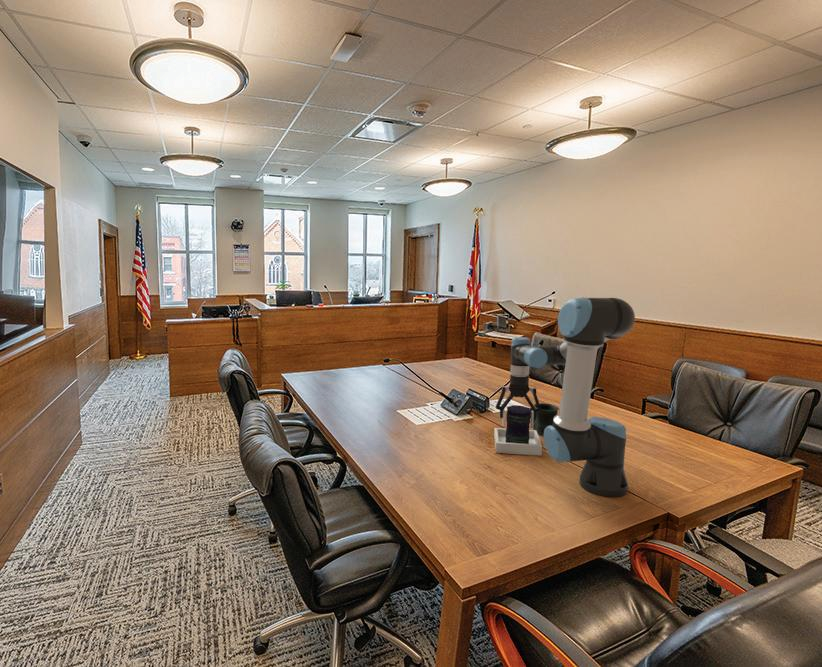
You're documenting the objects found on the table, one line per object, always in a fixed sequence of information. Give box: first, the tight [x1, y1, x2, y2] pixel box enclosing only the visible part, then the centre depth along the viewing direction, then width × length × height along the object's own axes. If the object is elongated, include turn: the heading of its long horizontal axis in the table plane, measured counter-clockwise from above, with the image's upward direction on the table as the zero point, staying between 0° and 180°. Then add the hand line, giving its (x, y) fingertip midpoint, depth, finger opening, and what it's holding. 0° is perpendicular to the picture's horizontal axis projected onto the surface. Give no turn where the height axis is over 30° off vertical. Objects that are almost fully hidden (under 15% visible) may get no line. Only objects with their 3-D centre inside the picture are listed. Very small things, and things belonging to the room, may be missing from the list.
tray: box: [493, 427, 543, 456], centre depth 183 cm, size 18×18×4 cm
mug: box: [529, 402, 560, 436], centre depth 200 cm, size 11×15×12 cm
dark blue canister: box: [505, 404, 531, 444], centre depth 182 cm, size 10×10×15 cm
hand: (517, 426), depth 182 cm, fingers open, 11 cm apart
